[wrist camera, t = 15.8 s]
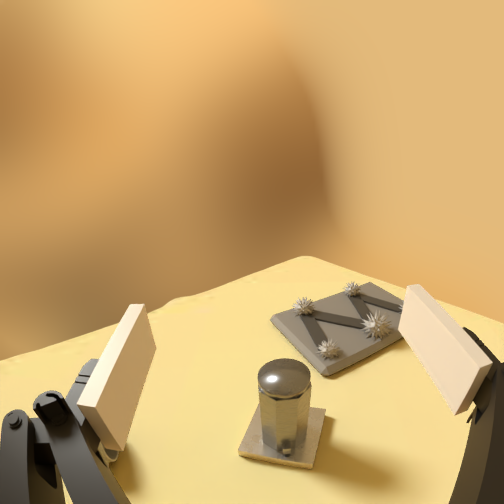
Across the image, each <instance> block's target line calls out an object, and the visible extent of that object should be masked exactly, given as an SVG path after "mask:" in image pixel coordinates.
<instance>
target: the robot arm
mask: <svg viewBox="0 0 504 504" xmlns="http://www.w3.org/2000/svg"><path fill="white" fill-rule="evenodd" d="M398 330H399V332H400V333H401V334H402V336H403V337H404V339H405V340H406V342H407V343H408V345H409V346H410V347H411V349H412V350H413V352H414V353H415V355H416V356H417V358H418V359H419V361H420V362H421V364H422V365H423V367H424V368H425V370H426V371H427V373H428V374H429V376H430V378H431V379H432V381H433V382H434V384H435V385H436V387H437V388H438V390H439V392H440V393H441V395H442V396H443V398H444V400H445V401H446V403H447V404H448V406H449V408H450V409H451V411H452V413H453V414H454V416H455V415H457V414H460V413H462V412H464V411H467V410H468V408H469V407H470V405H471V403H472V401H474V403H475V404H476V407H475V409H474V410H473V412H472V413H471V415H470V417H469V418H468V420H467V422H466V423H469V421H470V420H471V419H472V421H471V426H470V431H469V436H468V440H467V445H466V449H465V453H464V457H463V460H462V464H461V468H460V471H459V474H458V478H457V481H456V484H455V487H454V490H453V493H452V496H451V499H450V501H449V504H504V363H501V362H500V361H499V360H498V359H497V358H496V357H495V356H494V354H493V353H492V352H491V351H490V350H489V349H488V348H487V347H486V346H484V343H483V342H482V341H481V340H479V338H478V337H477V336H476V335H475V334H474V333H473V332H472V331H470V330H469V329H467V328H465V327H463V328H462V327H461V326H460V325H459V324H458V323H457V322H456V321H455V320H454V319H453V318H452V317H451V316H450V315H449V314H448V313H447V312H446V311H445V310H444V309H443V307H442V306H441V305H440V304H439V303H438V302H437V301H436V300H435V299H434V298H433V297H432V296H431V295H430V294H429V293H428V292H426V291H425V289H423V287H421V286H420V285H419V284H416V285H408V286H407V289H406V294H405V300H404V304H403V309H402V314H401V318H400V323H399V327H398ZM155 351H156V345H155V342H154V338H153V335H152V331H151V327H150V324H149V320H148V316H147V312H146V309H145V304H130V306H129V307H128V309H127V311H126V313H125V314H124V316H123V318H122V319H121V321H120V323H119V325H118V326H117V328H116V330H115V332H114V333H113V335H112V337H111V339H110V341H109V342H108V344H107V346H106V348H105V350H104V352H103V353H102V355H101V357H100V359H91V360H89V361H88V362H87V363H86V364H85V365H84V366H83V367H82V369H81V371H80V373H79V376H77V378H76V380H75V383H73V385H72V387H71V389H70V391H69V393H68V395H67V397H66V398H65V399H64V397H63V396H62V395H61V393H59V392H57V391H47V392H44V393H42V394H40V395H39V396H38V397H37V398H36V399H35V401H34V404H33V410H34V411H35V413H36V414H37V416H38V417H39V418H29V417H28V416H27V414H26V413H25V412H24V411H22V410H13V411H11V412H9V413H8V414H7V415H6V416H5V417H4V419H3V423H2V431H1V441H0V504H66V503H65V498H64V491H63V485H62V479H63V481H64V484H65V486H66V488H67V491H68V493H69V495H70V497H71V500H72V502H73V504H131V503H130V501H129V500H128V498H127V497H126V495H125V493H124V492H123V490H122V489H121V487H120V485H119V484H118V482H117V480H116V479H115V477H114V475H113V474H112V472H111V470H110V468H109V467H108V465H107V463H106V461H105V459H104V457H103V456H102V454H101V452H100V450H99V449H98V446H99V443H100V441H101V442H102V444H103V445H104V446H105V448H106V449H111V450H117V451H124V448H125V444H126V441H127V437H128V434H129V431H130V427H131V424H132V421H133V417H134V414H135V411H136V408H137V405H138V402H139V398H140V395H141V392H142V389H143V386H144V383H145V380H146V377H147V374H148V371H149V368H150V365H151V362H152V359H153V357H154V354H155ZM61 476H62V478H61Z"/></svg>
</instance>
